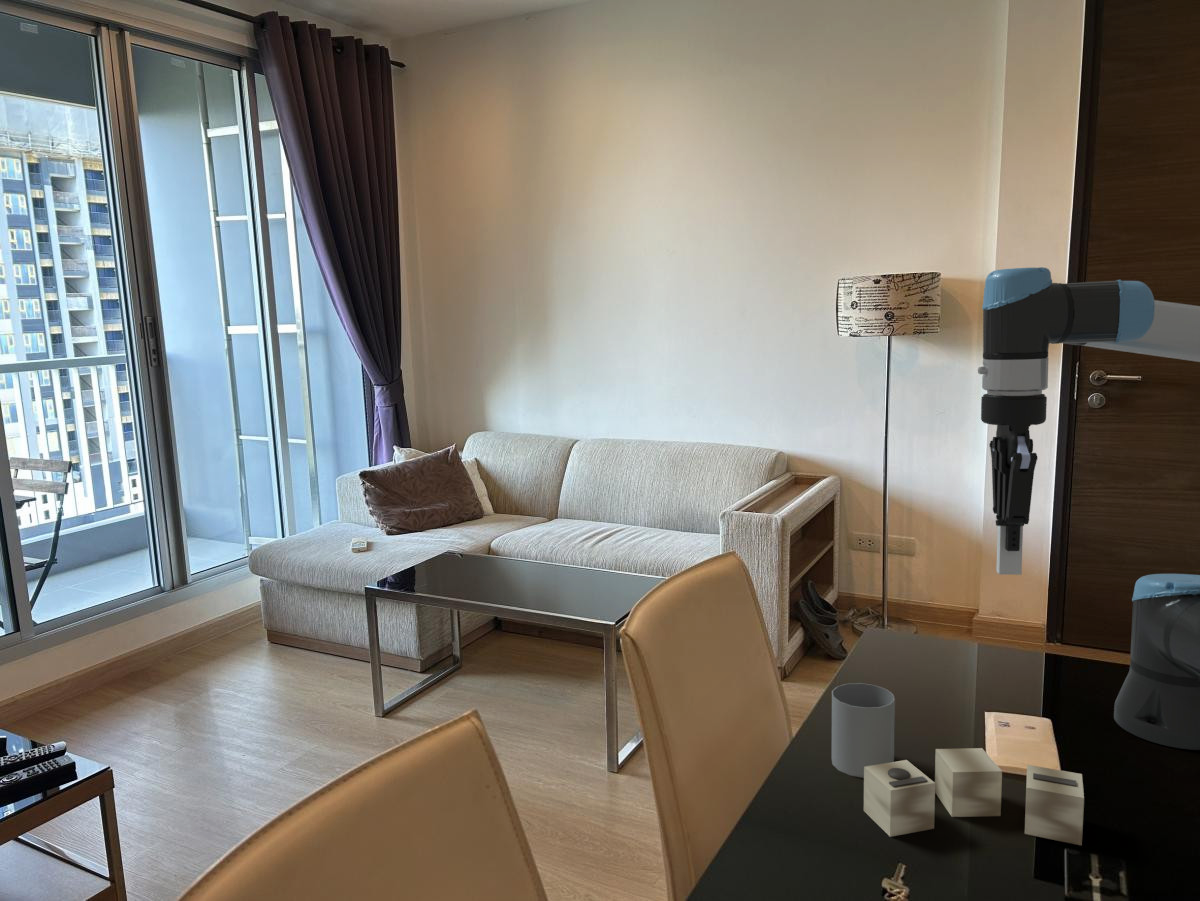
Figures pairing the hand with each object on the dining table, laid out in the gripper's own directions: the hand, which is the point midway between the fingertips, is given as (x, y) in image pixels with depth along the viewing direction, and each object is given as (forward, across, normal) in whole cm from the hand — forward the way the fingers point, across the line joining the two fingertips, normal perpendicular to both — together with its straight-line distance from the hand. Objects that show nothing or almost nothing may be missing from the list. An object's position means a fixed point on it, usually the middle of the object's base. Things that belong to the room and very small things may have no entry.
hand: (1008, 572), depth 115 cm
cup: (+28, -1, -18) cm, 34 cm away
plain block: (+28, +8, -6) cm, 30 cm away
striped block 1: (+28, +13, -15) cm, 35 cm away
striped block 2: (+28, +12, +3) cm, 31 cm away
